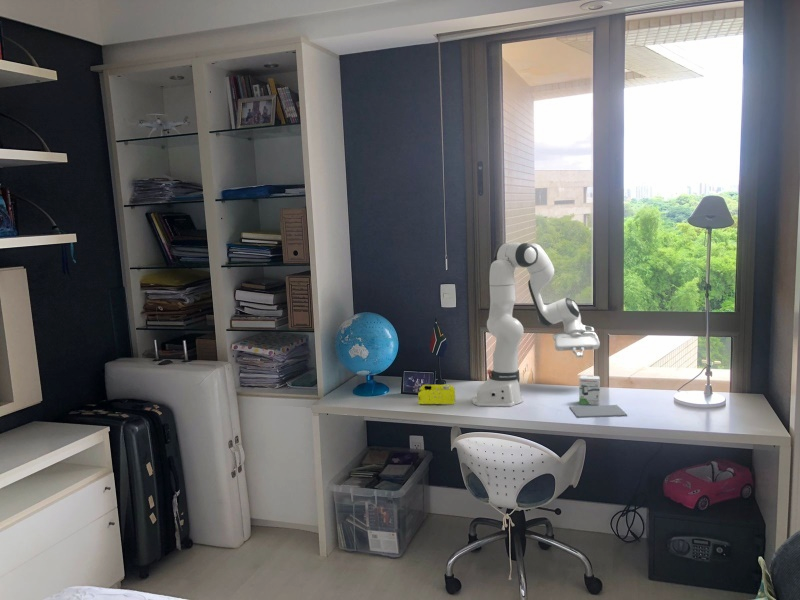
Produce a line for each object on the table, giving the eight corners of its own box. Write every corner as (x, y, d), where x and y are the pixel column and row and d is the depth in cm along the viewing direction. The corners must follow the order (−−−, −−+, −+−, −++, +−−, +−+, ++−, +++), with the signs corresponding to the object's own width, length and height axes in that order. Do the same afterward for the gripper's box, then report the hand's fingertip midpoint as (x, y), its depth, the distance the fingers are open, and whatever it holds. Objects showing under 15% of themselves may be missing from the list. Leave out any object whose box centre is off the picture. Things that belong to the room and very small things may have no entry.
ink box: (578, 404, 279) (578, 377, 278) (579, 401, 284) (579, 375, 282) (599, 405, 276) (599, 378, 275) (600, 402, 281) (599, 375, 280)
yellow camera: (455, 402, 291) (454, 384, 290) (454, 406, 286) (453, 387, 285) (420, 402, 294) (419, 384, 293) (418, 405, 289) (417, 387, 288)
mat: (577, 417, 261) (577, 416, 260) (569, 407, 274) (569, 406, 274) (627, 415, 260) (627, 414, 260) (616, 406, 274) (616, 404, 274)
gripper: (553, 329, 301) (557, 353, 292) (597, 327, 300) (603, 352, 291) (551, 336, 306) (556, 361, 297) (594, 335, 305) (600, 359, 296)
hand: (579, 356), depth 294 cm, fingers closed
